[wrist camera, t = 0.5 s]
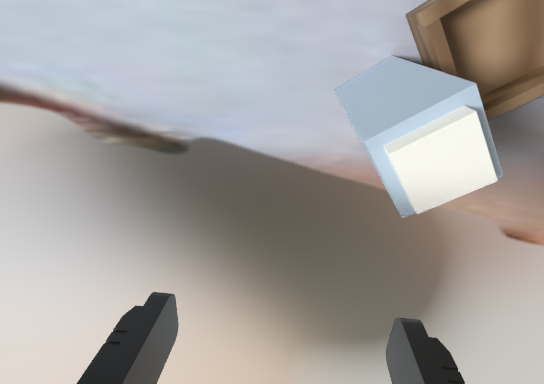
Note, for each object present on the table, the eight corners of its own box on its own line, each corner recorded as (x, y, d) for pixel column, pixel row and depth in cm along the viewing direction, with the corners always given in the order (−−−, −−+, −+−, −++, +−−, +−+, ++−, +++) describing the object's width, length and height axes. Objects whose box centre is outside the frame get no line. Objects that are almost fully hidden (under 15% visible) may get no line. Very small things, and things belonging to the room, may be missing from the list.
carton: (358, 139, 32) (408, 229, 18) (333, 89, 30) (368, 149, 16) (414, 110, 30) (517, 185, 16) (391, 55, 28) (489, 87, 14)
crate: (443, 120, 31) (462, 132, 27) (405, 14, 27) (422, 13, 23) (633, 26, 26) (686, 26, 22) (624, -123, 22) (687, -151, 18)
